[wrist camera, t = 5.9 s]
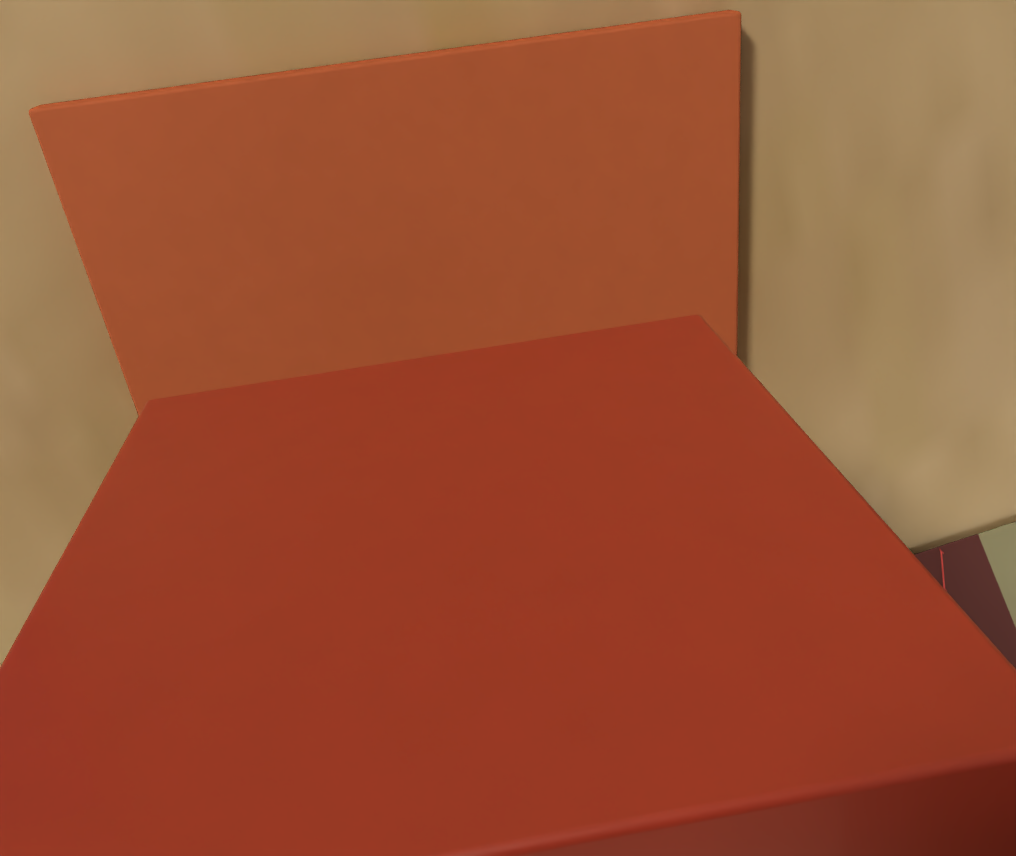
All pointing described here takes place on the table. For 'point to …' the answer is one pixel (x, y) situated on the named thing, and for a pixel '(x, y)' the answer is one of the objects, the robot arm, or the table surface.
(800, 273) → the table surface
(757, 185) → the table surface
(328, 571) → the red block
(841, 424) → the table surface
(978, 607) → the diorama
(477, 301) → the orange square mat
